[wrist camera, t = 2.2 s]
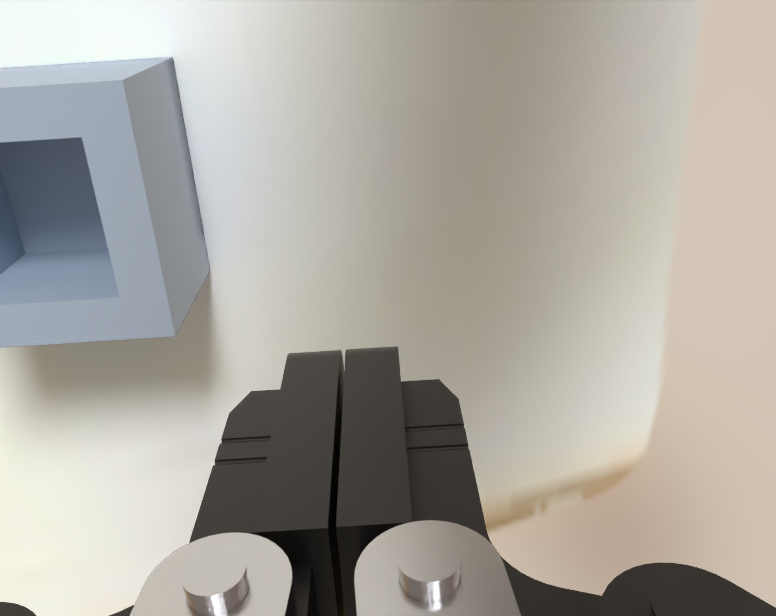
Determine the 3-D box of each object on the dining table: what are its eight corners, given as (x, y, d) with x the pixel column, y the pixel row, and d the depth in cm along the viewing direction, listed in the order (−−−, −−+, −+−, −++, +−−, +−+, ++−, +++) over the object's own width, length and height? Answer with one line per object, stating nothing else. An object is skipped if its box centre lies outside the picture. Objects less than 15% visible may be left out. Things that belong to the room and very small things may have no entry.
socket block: (172, 57, 22) (122, 79, 18) (209, 270, 25) (175, 336, 21) (-57, 72, 22) (-166, 98, 18) (8, 283, 25) (-71, 352, 21)
